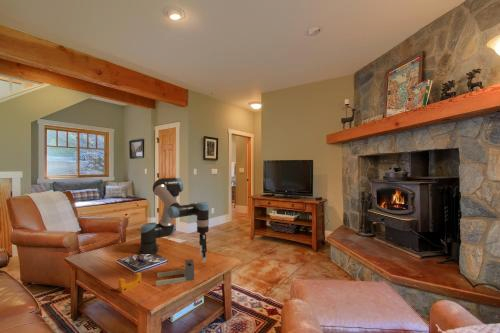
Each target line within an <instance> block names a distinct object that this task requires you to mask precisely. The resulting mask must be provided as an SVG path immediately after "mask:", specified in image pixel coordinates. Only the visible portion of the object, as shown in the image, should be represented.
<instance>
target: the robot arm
mask: <svg viewBox="0 0 500 333" xmlns="http://www.w3.org/2000/svg"><path fill="white" fill-rule="evenodd" d="M183 191H184V182H183V180H182V179H181V178H180V177H164V178H163V177H160V178H158V179H157V180H155V181H154V183H153V184H152V192H153V193H154V195H155V196H156V197H158V198H159V199H160V201H161V202H162V203H163V204H164V205H163V208H162V215H161V218H160V219H159V222H158V223H156V222H148V223H145V224H142V225H141V227H140V245H139V248H138V255H139V254H153V255H156V254H158V252H159V247H158V243H157V239H160V238H166V237H171V236H173V235H174V233H175V232H176V224H175V222H174V220H173V219H178V218H184V217H190V216H196V221H195V223H196V233H198V234H199V256H201V263H207V246H208V245H207V234H206V233H208V232H209V231H210V230H209V225H210V223H209V222H210V221H209V220H210V218H209V202H207V201H201V202H200V201H199V202H197V203H194V202H193V203H192V202H191V203H189V204H180V203H179V202H178V201H177V198H178V196H180V193H182V192H183Z"/></svg>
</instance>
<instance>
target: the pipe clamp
mask: <svg viewBox="0 0 500 333" xmlns="http://www.w3.org/2000/svg"><path fill="white" fill-rule="evenodd" d="M141 284H142V272H140V271H139V272H136V273H135V277H134V278H133V280H132V281H130V282H126V281H125V279H124V278H123V277H122V278H120V279H118V291H119V292H121V293H120V294H124V293H127V292H128V291H130V290H133V289H134V288H135V287H137V286H139V285H141Z"/></svg>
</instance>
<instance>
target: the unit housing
mask: <svg viewBox="0 0 500 333" xmlns="http://www.w3.org/2000/svg"><path fill="white" fill-rule="evenodd" d="M184 269H185V275H186V282H188V281H193V280H194V281H195V263H194V259H193V258H190V259H184Z"/></svg>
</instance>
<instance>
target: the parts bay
mask: <svg viewBox="0 0 500 333" xmlns="http://www.w3.org/2000/svg"><path fill="white" fill-rule="evenodd" d="M175 275H178V276H179V275H183V276H182V277H175V278H170V279H169V278H168V279H163V280H162V279H161V280H160V279H159V280H156V281H155V286H157V287H158V286H163V285H171V284H177V283H184V282H187V281H186V275H185V268H184V269H177V270H176V269H175V270H170V271H169V270H168V271H163V272H157V274H156V277H157V278H162V277H168V276H169V277H170V276H175Z"/></svg>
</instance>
